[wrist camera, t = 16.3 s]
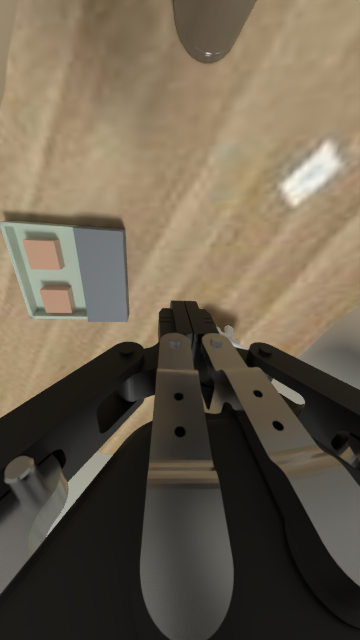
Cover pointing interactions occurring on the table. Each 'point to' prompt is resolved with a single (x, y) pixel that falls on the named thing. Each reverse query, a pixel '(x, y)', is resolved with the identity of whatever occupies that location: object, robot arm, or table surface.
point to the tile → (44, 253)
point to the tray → (39, 278)
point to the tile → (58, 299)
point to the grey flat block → (103, 272)
